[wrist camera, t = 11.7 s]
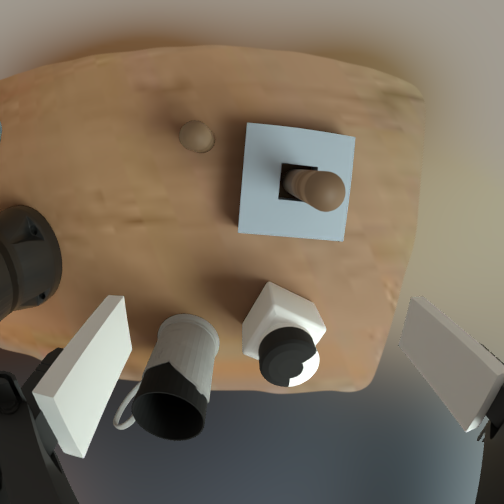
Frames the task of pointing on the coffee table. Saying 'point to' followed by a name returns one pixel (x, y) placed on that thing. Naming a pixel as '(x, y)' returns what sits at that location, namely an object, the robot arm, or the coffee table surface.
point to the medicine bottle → (283, 336)
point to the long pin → (315, 188)
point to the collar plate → (268, 180)
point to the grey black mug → (175, 380)
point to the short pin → (196, 137)
